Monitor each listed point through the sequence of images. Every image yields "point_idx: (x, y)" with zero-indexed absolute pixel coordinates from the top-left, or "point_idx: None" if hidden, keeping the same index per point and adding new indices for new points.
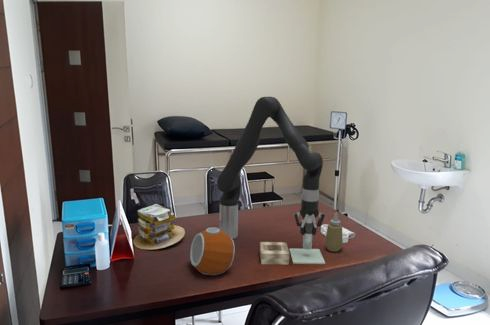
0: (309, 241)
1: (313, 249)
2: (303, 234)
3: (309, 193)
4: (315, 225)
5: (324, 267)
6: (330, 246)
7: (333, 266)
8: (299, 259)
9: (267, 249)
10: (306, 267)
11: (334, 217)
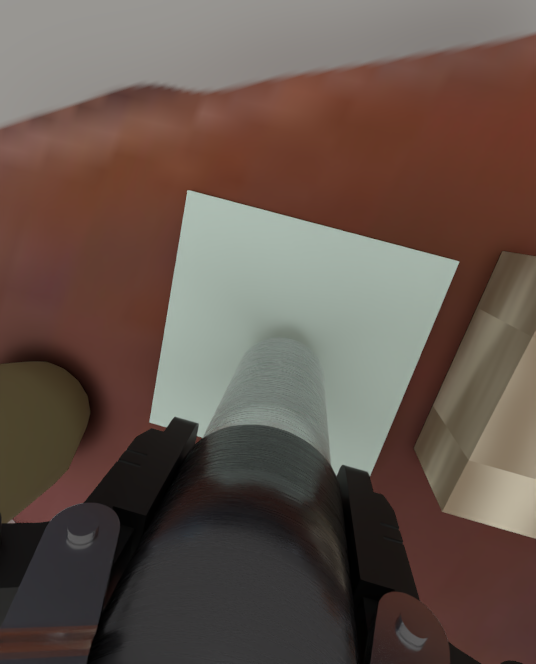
0: (271, 372)
1: None
2: (348, 470)
3: None
4: (69, 558)
5: (221, 131)
6: (54, 389)
7: (139, 133)
8: (379, 298)
9: None
10: (376, 165)
11: None
